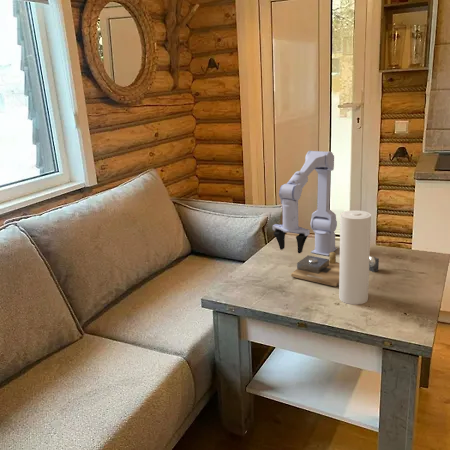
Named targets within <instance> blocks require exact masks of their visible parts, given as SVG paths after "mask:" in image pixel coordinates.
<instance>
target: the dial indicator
mask: <svg viewBox="0 0 450 450" xmlns="http://www.w3.org/2000/svg"><path fill="white" fill-rule="evenodd" d="M379 263H380V259H379V258H378V257H376V256H373V255H370V256H369V272H372V273H375V272H378V271H379V267H380V266H379V265H380V264H379Z"/></svg>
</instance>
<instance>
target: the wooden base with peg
mask: <svg viewBox="0 0 450 450" xmlns="http://www.w3.org/2000/svg"><path fill="white" fill-rule="evenodd" d="M336 257H337V253H336V252H335V251H334V252H330V255H329V258H328V259H329V266H328V267H327V268H325V269H324V270H323V271H322V272H320V273H319V274H316V273H312V272H307V271H303V270H298V269H297V268H296V270H294V271H293V272H291V273H290V276H291V277H293V278H297V279H301V280H305V281H309V282H314V283H319V284H322V285H326V286H331V287H338V286H339V269H340V262H339V261H338V262H337V261H336V259H337V258H336Z"/></svg>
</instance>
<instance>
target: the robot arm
mask: <svg viewBox="0 0 450 450" xmlns="http://www.w3.org/2000/svg"><path fill="white" fill-rule="evenodd" d="M304 160H305V161H304V162H303V165H302V167H301V168H300V170H297V171H295V172H294V174H292V176H291V178H290V179H289V180H288V181H287V182H286V183H284V184H282V185H280V188H279V190H278V197H279V199H280V203H281V206H282V224H277V223H274V224H273V225H272V231H274V232H273V236H274V237H275V239H276V241H277V243H278V247H279V249H280V250H281V251H282V250H284V249H285V239H286V238H285V237H286V233H292V234H296V236H295V239H296V243H297V253H298V254H302V253H303V250H304V245H305V243H306V241H307V239H308V236H310V231H311V230H312V231H313V233H314V249H313V250H311V251H310V253H311V254H317V255H322V256H327V257H328V256H330V252H335V251H336V250H338V247H336V232H335V231H336V230H337V227H338V221H337V214H336V213H335V212H334V211H333V210H331V209H330V205H331V204H330V202H331V172H333V171H334V168H335V155H334V153H333V152H332V151H325V150H324V151H321V150H308V151H307V152H306V154H305V157H304ZM314 170H315V172H316V173H317V200H316V201H317V205H316V206H317V208H316V210H315V211H313V212H312V213H311V219H310V222H309V223H310V225H309V226H310V229H311V230H310V229H308V228H305V227H301V226H300V225H299V200H301V196H302V192H303V188H304V187H305V186H306V184H307V183H308V181H309V176H310V175H311V173H313V171H314Z"/></svg>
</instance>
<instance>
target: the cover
mask: <svg viewBox="0 0 450 450" xmlns="http://www.w3.org/2000/svg"><path fill="white" fill-rule="evenodd" d="M328 266H329V258H323V257H318V256H313V255H306V256H305V257H303V258H301V259H300V260H299V261H298V262H297V263H296V270H297V269H298V270H303V271H307V272H312V273H316V274H319V273H320V272H322V271H323V270H324V269H325V268H327V267H328Z"/></svg>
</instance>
